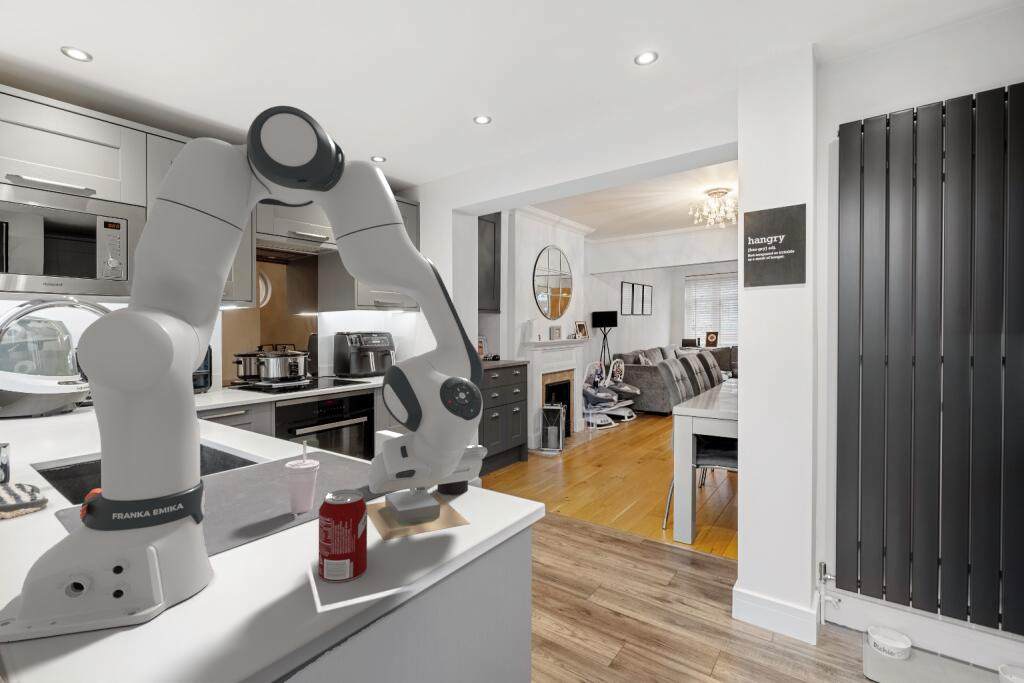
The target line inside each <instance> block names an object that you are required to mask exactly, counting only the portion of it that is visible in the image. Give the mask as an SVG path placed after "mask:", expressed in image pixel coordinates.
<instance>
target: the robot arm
mask: <svg viewBox="0 0 1024 683" xmlns="http://www.w3.org/2000/svg"><path fill="white" fill-rule="evenodd" d="M345 154H346V153H345V151H344V150H343V149H342V147H341V146H340V145H339V144H338V143H337V142H336V141H335V140H334V139H333V138H332V137H331V136H330V135H329V133H327V131H326V130H325V128H323V126H322V125H321V124H320V123H319V122H318V121H317V120H316V119H315V118H313V117H312V116H311V115H310V114H309V113H307V112H305V111H304V110H302V109H299V108H298V107H294V106H290V105H277V106H272V107H269V108H266V109H265V110H263V111H262V112H260V113H259V114H258V115H256V117H255V118H254V120H253V121H252V122H251V125H250V126H249V128H248V130H247V135H246V143H244V144H231V143H229V142H227V141H224V140H221V139H218V138H212V137H197V138H193V139H191V140H189V141H188V142H186V143H185V144H184V146H183V147H182V149H180V151H179V152H178V154H177V155H176V157H175V158H174V160H173V162H172V163H171V165H170V166H169V168H168V170H167V172H166V174H165V176H164V178H163V180H162V182H161V183H160V186H159V188H158V191H157V193H156V196H155V198H154V200H153V201H154V202H153V203H152V206H151V209H150V212H149V214H148V217H147V219H146V221H145V225H144V227H143V230H142V232H141V236H140V237H139V240H138V243H137V245H136V248H135V251H134V256H133V258H134V271H133V272H134V273H133V279H132V285H131V288H130V295H129V300H128V305H127V306H126V307H121V308H118V309H115V310H112V311H110V312H108V313H106V314H104V315H103V316H102V315H101V317H99V318H98V319H97V318H96V320H95V321H93V322H92V323H91V324H89V325H88V326H87V328H85V330H84V331H83V332H82V333H81V335H80V337H79V339H78V341H77V345H76V359H77V363H78V365H79V368H80V370H81V371H82V373H83V374H84V375H85V376H86V378H87V382H88V387H89V392H90V396H91V400H92V405H93V409H94V412H95V417H96V421H97V425H98V430H99V437H100V438H99V439H100V462H101V463H100V471H101V472H100V474H101V475H100V476H101V477H100V478H101V479H100V480H101V481H100V482H101V484H100V485H101V486H100V487H99V488H94V489H92V490H90V491H89V493H88V494H87V495H86V496H85V497H84V502H83V503H82V504H81V509H79V511H80V514H79V518H80V520H81V523H82V524H81V525H80V526H78V527H77V528H76V529H74V530H73V531H72V532H70V533H69V534H68V535H66V536H65V537H64V538H62V539H61V540H60V541H58V542H57V543H56V544H54V545H53V546H52V547H50V548H49V549H47V550H46V551H45V552H44V553H43V554H41V555H40V556H39V558H38V559H36V561H34V563H33V564H32V566H31V567H30V568H29V570H28V572H27V574H26V576H25V579H24V581H23V584H22V587H21V592H20V593H19V594H17V595H15V597H14V598H12V599H11V600H10V601H9V602H8V603H7V604H6V605H5V606H4V607H3V608H2V609H1V611H0V643H8V641H9V642H14V641H21V640H30V639H36V638H37V639H38V638H42V637H43V638H45V637H52V636H58V635H67V634H73V633H80V632H81V633H82V632H87V631H94V630H95V631H96V630H102V629H109V628H117V627H123V626H131V625H138V624H142V623H146V622H148V621H150V620H152V619H153V618H155V617H156V616H158V615H159V614H162V613H163V612H164V611H165V610H166V609H168V608H170V607H172V606H174V605H176V604H178V603H180V602H183V601H184V600H186V599H189V598H190V597H192V596H194V595H195V594H197V593H198V592H200V591H201V590H203V589H205V587H207V585H208V584H209V583H210V582H211V581H212V579H213V577H214V574H215V573H214V570H213V566H212V564H211V561H210V559H209V554H208V551H207V547H206V545H207V544H206V542H205V541H206V540H205V537H204V536H205V535H204V528H203V520H204V517H205V514H206V513H205V509H206V498H205V497H206V495H205V494H206V493H205V488H204V480H203V479H202V478H201V426H200V422H199V420H198V414H197V408H196V402H195V401H196V399H195V393H194V392H195V391H194V382H193V373H195V372H196V371H197V370H198V369H199V368H200V367H201V365H202V364H203V362H204V361H205V358H206V355H207V353H208V349H209V346H210V342H211V339H212V336H213V332H214V329H215V325H216V323H217V318H218V315H219V311H220V306H221V303H222V299H223V295H224V294H223V293H224V290H225V287H226V283H227V282H228V281H227V280H228V277H229V275H230V272H231V270H232V269H231V268H232V266H233V263H234V261H235V257H236V256H237V252H238V249H239V247H240V243H241V241H242V239H243V235H244V232H245V231H246V227H247V224H248V221H249V219H250V216H251V214H252V211H253V210H254V207H255V206H256V205H257V204H258V203H259V204H262V205H269V206H280V207H285V208H303V207H306V206H309V205H312V204H313V203H315V204H316V205H318V207H320V208H321V209H322V211H323V212H324V213H325V215H326V218H327V219H328V221H329V224H330V227H331V231H332V234H333V238H334V241H335V245H336V247H337V251H338V253H339V256H340V259H341V261H342V264H343V266H344V268H345V270H346V271H347V273H348V274H349V275H350V277H352V278H354V279H355V280H356V281H357V282H359V283H361V284H362V285H364V286H367V287H370V288H373V289H377V290H383V291H391V292H395V293H400V294H404V295H405V296H408V297H410V298H411V299H413V300H414V301H415V302H416V303H417V304H418V305H419V307H420V308H421V310H422V313H423V315H424V317H425V320H426V321H427V324H428V327H429V328H430V330H431V332H432V335H433V337H434V339H435V341H436V348H434V349H432V350H430V351H427V352H425V353H422V354H419V355H417V356H412V357H409V358H407V359H404V360H402V361H400V362H396V363H395V364H393V365H389V367H387V369H386V371H385V373H384V375H383V378H382V379H383V380H382V385H381V395H382V396H381V397H382V398H381V399H382V402H383V405H384V407H385V408H386V410H387V412H388V413H389V414H390V416H391V417H392V418H393V420H395V421H396V422H397V423H398V424H400V425H401V426H403V427H404V428H406V429H408V430H409V431H410V432H407V433H405V434H403V435H402V436H399V437H395V438H392V439H388V440H386V441H384V442H383V444H382V452H381V453H379V454H378V455H377V456H376V457H374V458H375V459H374V460H373V462H372V464H370V467H369V469H368V473H367V481H368V482H367V483H368V486H369V487H368V488H369V490H370V492H371V493H372V494H376V495H377V494H383V493H389V492H396V491H403V490H404V491H405V490H409V491H410V492H411V495H417V494H423V493H427V492H428V491H429V490H430V489H432V488H433V487H436V486H437V485H439V484H445V483H452V482H459V481H466V480H468V481H471V480H474V479H475V478H477V477H479V475H480V472H481V470H482V466H483V459H485V457H486V456H487V454H488V449H487V447H485V446H483V445H477V444H476V445H474V444H473V445H472V444H470V443H471V441H472V440H473V438H474V435H475V433H476V432H477V430H478V427H479V424H480V422H481V419H482V416H483V408H484V406H483V405H484V404H483V396H482V393H481V391H480V388H481V385H482V382H483V378H484V363H483V360H482V357H481V356H480V354H479V352H478V351H477V349H476V347H475V346H474V344H473V342H472V341H471V340H470V338H469V336H468V334H467V332H466V329H465V328H464V326H463V323H462V321H461V318H460V316H459V314H458V312H457V310H456V306H455V305H454V303H453V300H452V298H451V296H450V293H449V292H448V289H447V287H446V285H445V283H444V280H443V278H442V276H441V274H440V273H439V271H438V269H437V267H436V266H435V265H434V263H433V262H432V261H431V259H429V258H428V257H426V256H424V255H423V254H421V252H420V251H419V250H418V248H416V246H415V244H413V242H412V240H411V237H410V236H409V234H408V232H407V230H406V227H405V222H404V220H403V217H402V214H401V210H400V208H399V206H398V201H397V200H396V197H395V195H394V193H393V191H392V189H391V186H390V185H389V182H388V180H387V179H386V176H385V175H384V173H383V171H382V170H381V168H379V167H378V166H377V165H375V164H373V163H371V162H369V161H364V160H346V155H345ZM468 444H469V445H468Z"/></svg>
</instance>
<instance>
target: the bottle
mask: <svg viewBox="0 0 1024 683" xmlns="http://www.w3.org/2000/svg"><path fill="white" fill-rule="evenodd" d="M468 445H470V443H469V444H468ZM436 486H437V493H439V494H441V495H446V496H457V495H458V496H459V495H463V494H465V493H467V492H468V491H469V480H466V481H459V482H452V483H445V484H439V485H436Z"/></svg>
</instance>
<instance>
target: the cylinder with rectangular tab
mask: <svg viewBox="0 0 1024 683" xmlns="http://www.w3.org/2000/svg"><path fill="white" fill-rule="evenodd" d="M402 435H404V434H403V433H399V432H395V431H391V430H385V429H384V430H379V431H375V438H374V439H375V440H374V441H375V448H374V451H375V452H374V456H375V457H376V456H377V455H378V454H379V453H381V452H382V444H383V442H384V441H386V440H388V439H392V438H395V437H399V436H402ZM375 457H373V458H372V459H371V460H370V463H371V464H372V462H373V460H374V459H375ZM371 464H370V465H371Z"/></svg>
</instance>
